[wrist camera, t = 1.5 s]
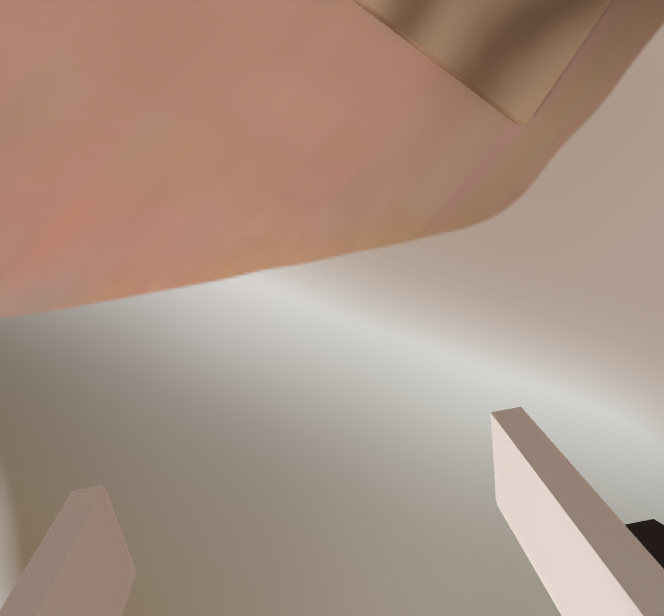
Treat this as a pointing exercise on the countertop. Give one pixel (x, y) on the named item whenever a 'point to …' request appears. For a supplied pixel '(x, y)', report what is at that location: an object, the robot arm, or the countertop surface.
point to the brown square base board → (496, 43)
